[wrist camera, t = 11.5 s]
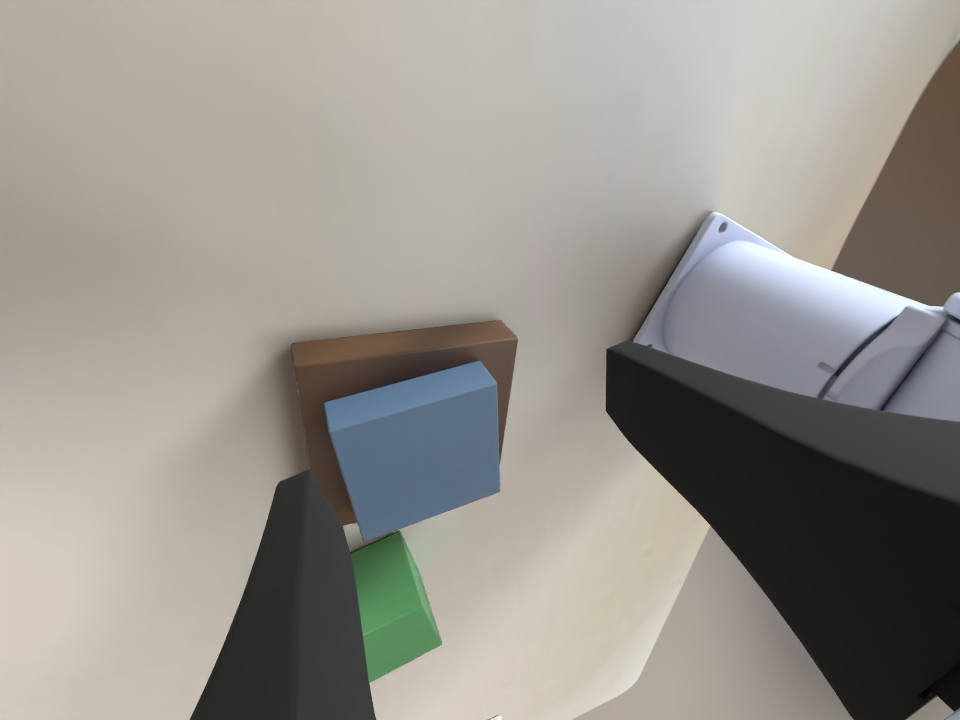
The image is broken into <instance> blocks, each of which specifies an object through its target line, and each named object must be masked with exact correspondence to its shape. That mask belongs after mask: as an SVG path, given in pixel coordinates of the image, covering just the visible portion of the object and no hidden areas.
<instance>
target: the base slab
mask: <svg viewBox="0 0 960 720" xmlns="http://www.w3.org/2000/svg"><path fill="white" fill-rule="evenodd" d="M517 342H518V337H517V336H516V335H515V334H514V333H513V332H512V331H511V330H510V329H509V328H508V327H507V326H506V325H505V324H504V323H503V322H502V321H501V320H499V321H490V322H481V323H471V324H462V325H453V326H444V327H435V328H426V329H417V330H408V331H399V332H390V333H381V334H372V335H363V336H354V337H345V338H336V339H327V340H317V341H308V342H299V343H293V344H291V349H292V357H293V366H294V372H295V379H296V386H297V392H298V399H299V405H300V412H301V418H302V425H303V432H304V438H305V445H306V451H307V458H308V464H309V470H310V472H311V474H312V475H313V477H314V479H315V480H316V482H317V484H318V486H319V487H320V489H321V491H322V492H323V494H324V496H325V497H326V499H327V501H328V502H329V504H330V506H331V507H332V509H333V511H334V513H335V514H336V516H337V518H338V519H339V521H340V523H341V524H342V526H344V525H348V524H352V523H356V522H357V520H356V516H355V513H354V510H353V507H352V504H351V501H350V497H349V494H348V491H347V488H346V485H345V482H344V479H343V475H342V472H341V469H340V466H339V463H338V460H337V456H336V453H335V450H334V447H333V444H332V441H331V438H330V434H329V431H328V426H327V420H326V415H325V410H324V403H325V402H328V401H332V400H336V399H340V398H343V397H347V396H351V395H354V394H358V393H362V392H365V391H369V390H373V389H376V388H380V387H384V386H387V385H391V384H395V383H399V382H402V381H406V380H410V379H413V378H417V377H421V376H424V375H428V374H432V373H435V372H439V371H443V370H446V369H450V368H454V367H458V366H461V365H465V364H469V363H472V362H476V361H481V363H482V364H483V365H484V367H485V368H486V369H487V371H488V372H489V373H490V375H491V376H492V377H493V379H494V380H495V381H496V383H497V402H498V436H499V466H500V459H501V452H502V445H503V439H504V432H505V425H506V418H507V411H508V404H509V397H510V390H511V384H512V377H513V370H514V363H515V356H516V349H517Z"/></svg>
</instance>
